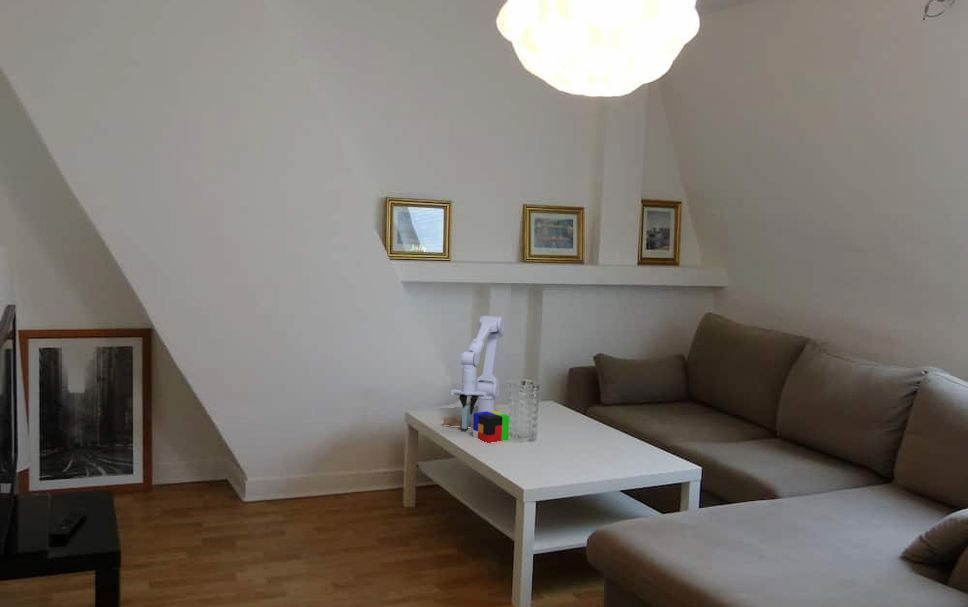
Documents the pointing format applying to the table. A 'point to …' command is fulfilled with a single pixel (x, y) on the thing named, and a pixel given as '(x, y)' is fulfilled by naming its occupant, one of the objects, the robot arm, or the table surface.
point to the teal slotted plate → (466, 416)
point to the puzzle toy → (491, 426)
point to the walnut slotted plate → (455, 422)
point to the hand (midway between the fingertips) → (468, 413)
